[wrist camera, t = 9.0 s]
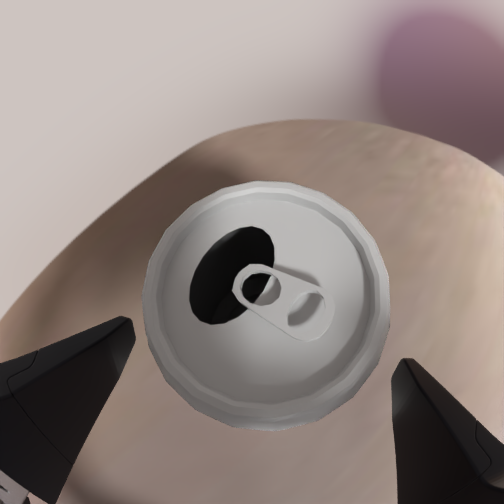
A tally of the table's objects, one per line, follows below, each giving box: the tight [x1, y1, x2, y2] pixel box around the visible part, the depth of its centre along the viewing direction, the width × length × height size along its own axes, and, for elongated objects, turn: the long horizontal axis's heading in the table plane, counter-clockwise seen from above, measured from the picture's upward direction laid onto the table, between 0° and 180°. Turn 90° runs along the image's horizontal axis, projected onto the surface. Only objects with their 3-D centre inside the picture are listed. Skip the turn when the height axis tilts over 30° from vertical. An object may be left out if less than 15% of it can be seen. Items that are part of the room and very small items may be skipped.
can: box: [142, 180, 390, 431], centre depth 12 cm, size 8×8×12 cm
